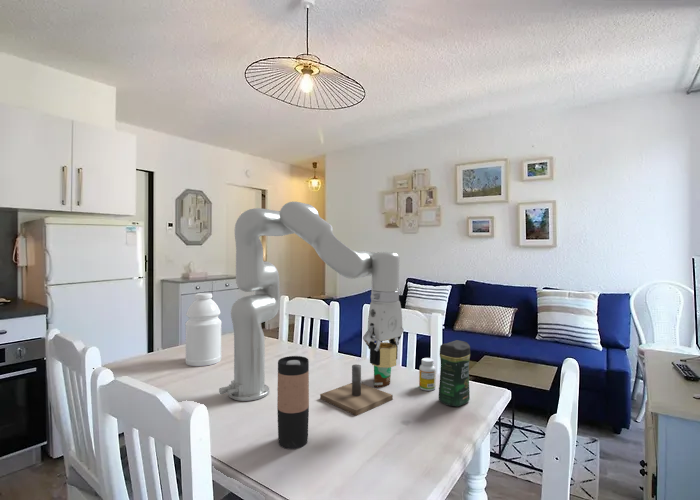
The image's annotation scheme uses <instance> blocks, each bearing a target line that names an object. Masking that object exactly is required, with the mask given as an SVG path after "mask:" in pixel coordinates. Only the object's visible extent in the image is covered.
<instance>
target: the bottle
mask: <svg viewBox="0 0 700 500" xmlns="http://www.w3.org/2000/svg"><path fill="white" fill-rule="evenodd" d="M212 298H213V293H211V292H198V293H195V294H194V299H195V300H194V301H193V302H192V303H191V304H190V305H189V307H188V308H187V311H186V314H185V316H186V317H187V318H188V320H187V321H186V322H185V324H184V325H185V364H186V365H187V366H191V367H206V366H211V365H214V364H217V363H219V362H220V361H221V360H222V356H223V355H222V324H223V323H222V320H221V319H220V318H219V316H220V315H221V310H220V307H219V306H218V304H217V303H216V301H214V299H212Z"/></svg>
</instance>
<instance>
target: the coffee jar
mask: <svg viewBox="0 0 700 500" xmlns="http://www.w3.org/2000/svg"><path fill="white" fill-rule="evenodd" d="M470 358H471V346H470V344H469V343H468V342H466V341H463V340H458V339H455V340H453V341H450V342H447V343H442V344H440V347H439V359H440V360H439V361H440V368H439V369H440V373H439V384H438V385H439V386H438V400H439V401H440V402H441V403H442V404H443V405H446V406H448V407H449V406H452V407H460V406H463V405H465V404H467V403H468V402H469V401H470V400H471V399H470V367H469V366H470Z"/></svg>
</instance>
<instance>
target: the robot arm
mask: <svg viewBox="0 0 700 500" xmlns="http://www.w3.org/2000/svg"><path fill="white" fill-rule="evenodd" d="M292 234H293V235H294V234H295V235H296V236H297V237H299V238H300V239H302V240H303V241H304V242H305V243H307V244H308V245H310V247H312V248H313V249H314V250H315V252H316V254H317V255H318V257H319V258H320V259H321V260H322V262H324V263H325V264H326V265H327V266H328V267H330V268H331V269H332V270H334V272H336V273H338V274H339V275H341V276H342V277H344V278H347V279H350V280H353V279H359V278H364V277H370V276H371V294H370V300H371V302H370V303H369V304H370V305H369V309H368V315H367V316H368V317H367V330H366V332H365V334H363V337H362V340H363V341H364V342H365V345H366V347H368V349H369V363H370V364H371V365H372V364H374V365H377V366H378V365H380V350H379V346H380V343H381V342H386V341H388V343H392V344H396V347H397V352H396V361H397V360H398V346H399V344H400V340H401V337H402V335H403V333H404V331H405V330H404V327H403V314H402V313H403V312H402V305H401V304H402V303H401V301H400V296H399V295H400V294H399V293H400V292H399V291H400V256H399V254H398V253H397V252H393V251H392V252H388V251H385V252H384V251H383V252H382V251H379V252H378V251H377V252H373V251H368V250H354V249H351V248H350V247H349V246H347V245H346V244H345V243H343V242H342V241H341V240H339V239H338V238H337V237H336V235H335V234H334V227H333V226H332V224H331V223H329V222H328V221H327V220H325V219H323V218H322V217H321V216H320V215H319V212H318V210H317V208H315V207H314V206H313V205H311V204H309V203H304V202H300V201H289V202H287V203H285V204H284V205H283V206H281V208H280V210H274V209H267V208H260V207H256V208H249V209H247V210H244V211H243V212H242V213H241V214H240V215H239V216H238V218H237V219H236V221H235V225H234V241H235V284H236V287H237V288H238V289H239V291H241V292H245V293H247V292H249V293H250V292H251V293H252V292H254V294H251V295H246V296H241V297H240V298H238V299H237V300H235V301H234V303H233V304H232V306H231V309H230V318H231V322H232V323H231V324H232V328H233V357H234V358H233V368H234V369H233V380H231V381H230V384H228V385H227V386H221V387H219V388H218V392H219V394H220V395H224V394H227V395H228V396H229V398H230V399H232V400H234V401H241V402H247V401H256V400H261V399H263V398H265V397H266V396H267V395H269V394H270V387H269V386H268V385H267V384H265V355H266V354H265V352H266V351H265V333H264V331H263V328H262V325H261V324H262V323H264V322H265V323H266V322H269V321H270V320H272V319H273V318H275V317H276V316H277V314H278V312H279V309H280V273H279V271H278V269H277V267H276V266H275V264H273V263H272V262H270V261H264V248H263V244H262V242H261V240H260V237H261V236H265V237H282V236H288V235H292ZM375 341H376V342H375ZM374 343H376V345H375V344H374ZM374 365H373V366H374Z"/></svg>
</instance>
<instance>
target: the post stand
mask: <svg viewBox="0 0 700 500" xmlns="http://www.w3.org/2000/svg"><path fill="white" fill-rule="evenodd" d="M319 396H320V397H319V399H320V400H322V401H324V402H327V403H328V404H330V405H333V406H334V407H337V408H338V409H340V410H344V411H345V412H348V413H350V414H352V415H354V416H355V417H357V416H360V415H361V414H363V413H366V412H368V411H370V410H372V409H375V408H377V407H379V406H382V405H384V404H386V403H389V402H391V401H392V400H394V399H393V394H392V393H389V392H386V391H384V390H381V389H378V388H377V387H374V386H370V385H367V384H365V383H362V365H360V364H352V365H351V383H348V384H345V385H342V386H339V387H336V388H334V389H330V390H328V391H325V392H323V393H320V394H319Z"/></svg>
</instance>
